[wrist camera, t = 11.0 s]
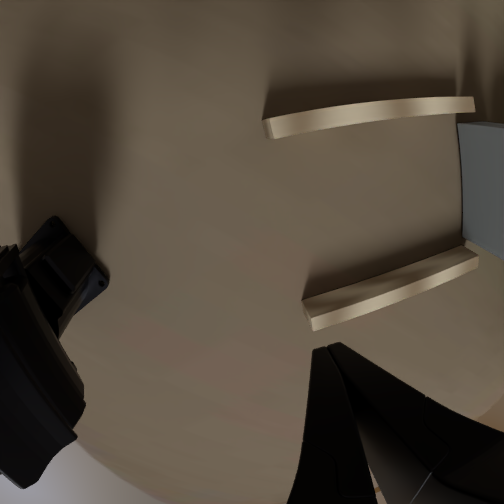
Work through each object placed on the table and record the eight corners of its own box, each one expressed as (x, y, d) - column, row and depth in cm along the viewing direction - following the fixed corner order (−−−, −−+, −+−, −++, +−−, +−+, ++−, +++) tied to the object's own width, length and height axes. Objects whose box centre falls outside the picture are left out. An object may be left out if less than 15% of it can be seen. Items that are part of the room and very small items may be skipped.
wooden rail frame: (303, 312, 24) (312, 331, 21) (261, 120, 18) (269, 118, 16) (460, 256, 24) (477, 267, 22) (452, 96, 18) (473, 96, 16)
